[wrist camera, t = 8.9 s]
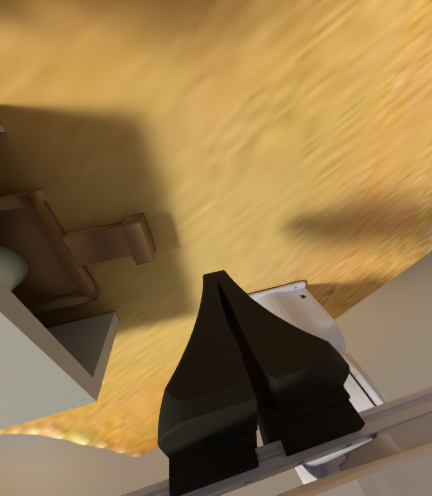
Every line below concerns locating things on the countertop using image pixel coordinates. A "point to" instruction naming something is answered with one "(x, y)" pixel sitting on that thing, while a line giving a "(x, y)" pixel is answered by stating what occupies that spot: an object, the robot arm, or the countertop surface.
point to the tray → (64, 250)
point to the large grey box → (49, 361)
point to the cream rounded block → (12, 268)
